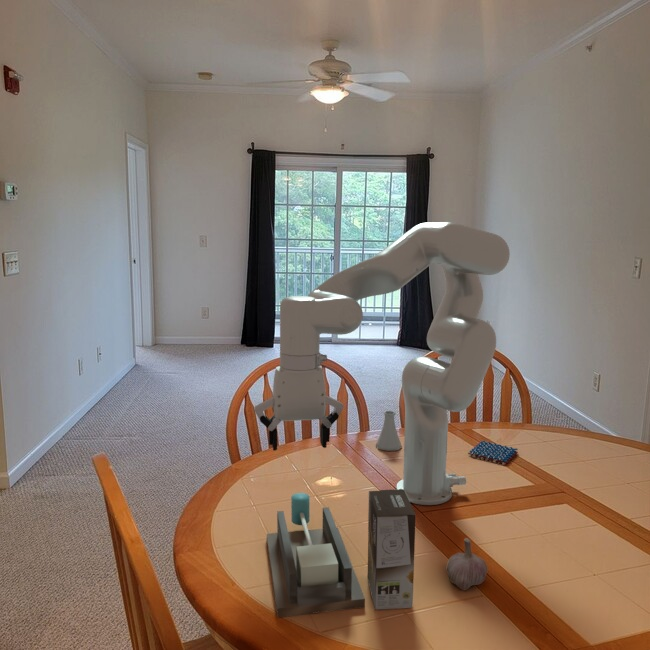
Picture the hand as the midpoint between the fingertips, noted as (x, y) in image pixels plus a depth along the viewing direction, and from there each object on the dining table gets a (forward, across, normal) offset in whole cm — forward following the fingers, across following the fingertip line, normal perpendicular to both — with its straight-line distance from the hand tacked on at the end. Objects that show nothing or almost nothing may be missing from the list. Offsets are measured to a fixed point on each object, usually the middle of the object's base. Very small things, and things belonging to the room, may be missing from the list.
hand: (299, 446), depth 110 cm
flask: (+18, -30, -39) cm, 53 cm away
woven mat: (+18, -56, -29) cm, 66 cm away
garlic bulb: (+18, -26, +21) cm, 38 cm away
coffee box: (+18, -12, +22) cm, 31 cm away
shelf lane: (+18, 0, +14) cm, 23 cm away
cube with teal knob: (+16, 0, +11) cm, 19 cm away
